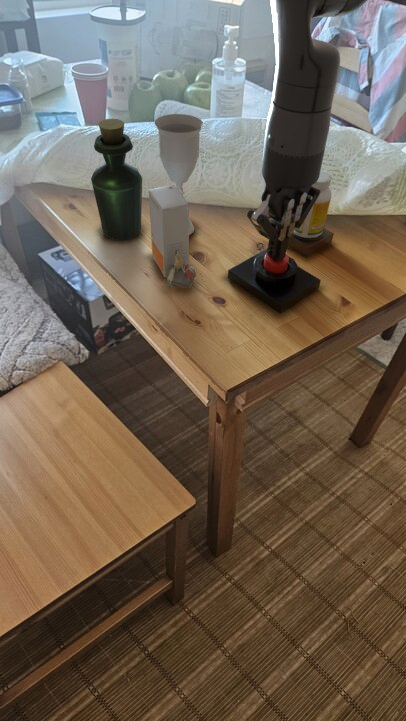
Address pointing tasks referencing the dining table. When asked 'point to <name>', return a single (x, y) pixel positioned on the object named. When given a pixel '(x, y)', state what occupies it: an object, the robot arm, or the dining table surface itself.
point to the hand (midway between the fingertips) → (276, 257)
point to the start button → (276, 264)
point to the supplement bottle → (317, 209)
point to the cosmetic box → (169, 226)
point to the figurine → (180, 273)
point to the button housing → (273, 282)
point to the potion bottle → (117, 183)
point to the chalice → (179, 147)
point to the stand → (310, 243)
